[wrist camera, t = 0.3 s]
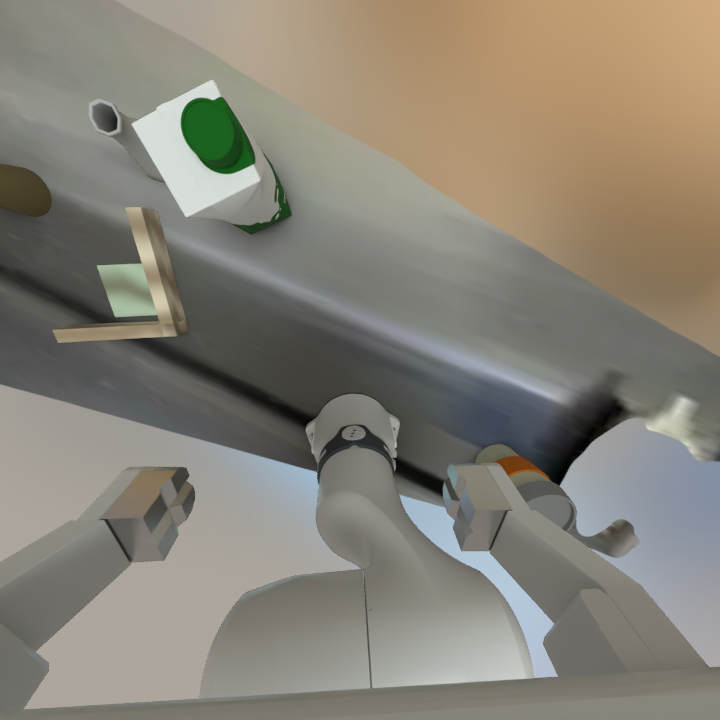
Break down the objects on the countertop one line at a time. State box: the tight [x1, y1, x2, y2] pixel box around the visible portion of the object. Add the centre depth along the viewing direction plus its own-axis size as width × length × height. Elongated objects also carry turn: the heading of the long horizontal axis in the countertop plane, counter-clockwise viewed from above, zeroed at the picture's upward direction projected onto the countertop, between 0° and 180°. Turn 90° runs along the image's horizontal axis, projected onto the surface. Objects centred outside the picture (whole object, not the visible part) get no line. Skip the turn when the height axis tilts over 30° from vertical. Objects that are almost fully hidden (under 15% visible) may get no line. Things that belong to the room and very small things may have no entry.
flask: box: [88, 98, 166, 183], centre depth 32 cm, size 7×7×10 cm
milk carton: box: [132, 80, 292, 234], centre depth 30 cm, size 9×9×20 cm
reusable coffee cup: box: [475, 444, 577, 532], centre depth 52 cm, size 12×13×15 cm
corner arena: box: [53, 207, 189, 343], centre depth 40 cm, size 18×18×4 cm
